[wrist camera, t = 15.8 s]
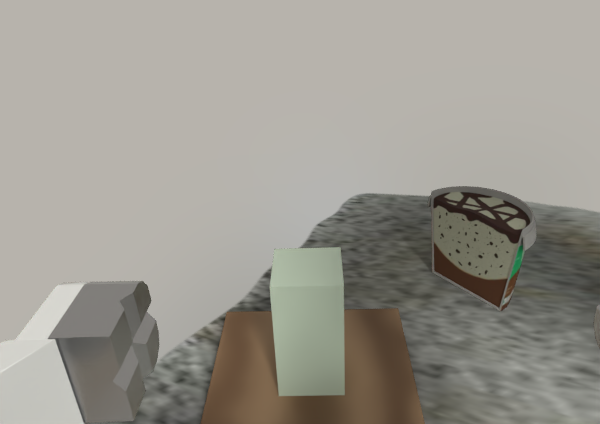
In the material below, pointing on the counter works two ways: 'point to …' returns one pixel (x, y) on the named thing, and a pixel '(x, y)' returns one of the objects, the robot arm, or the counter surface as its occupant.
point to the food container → (480, 240)
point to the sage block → (308, 321)
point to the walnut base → (314, 409)
